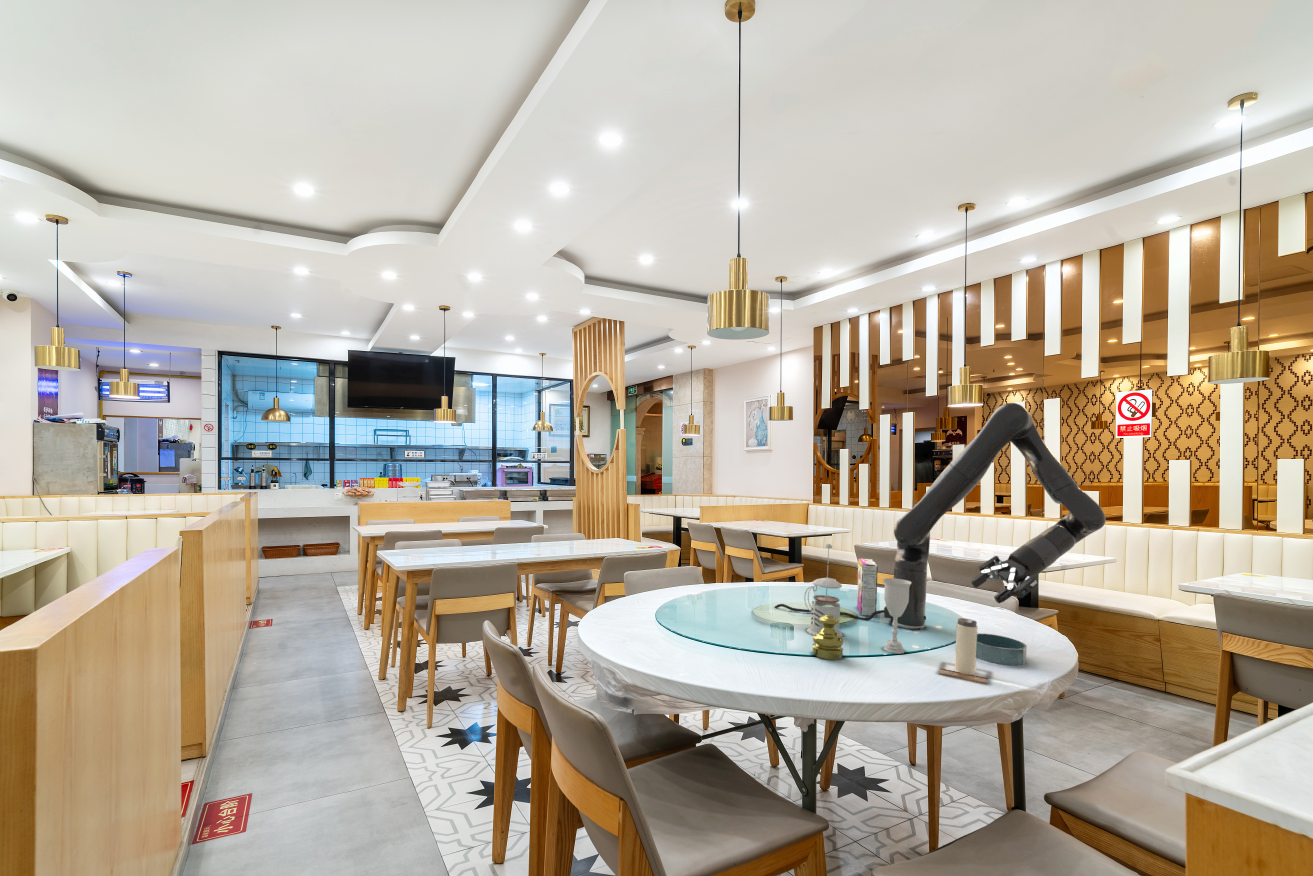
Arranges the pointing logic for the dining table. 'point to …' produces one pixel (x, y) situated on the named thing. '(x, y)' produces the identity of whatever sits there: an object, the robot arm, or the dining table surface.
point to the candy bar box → (867, 587)
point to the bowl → (1000, 649)
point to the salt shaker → (828, 640)
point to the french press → (824, 603)
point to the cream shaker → (966, 646)
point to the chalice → (896, 608)
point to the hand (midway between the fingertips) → (984, 592)
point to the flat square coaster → (963, 676)
